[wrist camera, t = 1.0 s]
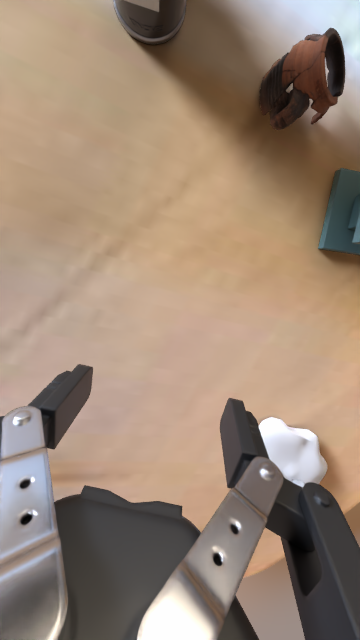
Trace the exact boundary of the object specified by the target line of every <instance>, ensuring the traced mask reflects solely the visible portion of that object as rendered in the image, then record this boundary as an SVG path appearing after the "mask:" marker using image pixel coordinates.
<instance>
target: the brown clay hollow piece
mask: <svg viewBox="0 0 360 640" xmlns="http://www.w3.org/2000/svg"><path fill="white" fill-rule="evenodd" d="M325 58H326V65H327V68H328V70H329V73H328V76H327V81H328V87H327V81H326V74H325ZM291 83H293V90H291V91H290V93H287V92H286V89H287V88H288V87H289V86H290V85H291ZM344 83H345V56H344V50H343V45H342V41H341V38H340V36H339V34H338V32H337V31H336V30H335V29H334V28H329V29H328V30H327V31H326V32H325V33H324V34H323V35H320V34H312V35H308V36H306V37H305V40H304V41H303V40H302V41H300V42H299V43H298V44H296V45H294V46H293V48H292V49H291V51H290V52H289V53H287V54H286V55H284V56H283V57H282V59H279V60H277V61H276V62H275V63H274V64H273V65H272V67H271V69H270V70H269V71H268V72H267V73H266V75H265V76H264V78H263V80H262V84H261V89H260V106H261V111H262V114H263V115H265V114H266V113H267V112H269V111H270V110H271V112H270V124H271V126H272V128H273V129H276V130H281V129H284V128H285V127H287V126H289V125H290V124H292V123H293V122H294V121H295V120H296V119H297V118H299V117H301V116H302V115H303V113H304V112H305V111H306V110H307V109H308V107H309V99H312V100H313V103H312V105H311V108H312V109H314V110H315V111H316V112H318V113H316V114H315V115H314V116H313V117H312V121H311V124H314V123H316V122H317V121H318V120H319V119H321V118H322V116H323V115H324V114H325V113H326V112H327V110H328V109H329V107H330V106H333V105H335V104H337V102H338V101H337V100H338V97H339V96H340V95H342V93H343V89H344Z"/></svg>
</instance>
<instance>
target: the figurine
mask: <svg viewBox="0 0 360 640" xmlns="http://www.w3.org/2000/svg"><path fill="white" fill-rule="evenodd" d="M259 429H260V432H261V436H262V438H263V441H264V444H265V447H266V450H267V453H268V456H269V459H270V460H271V461H272V462H273V463H275V464H276V465H277V467H278V468H279V469H280V471H281V473H282V475H283V477H284V478H286V479H287V480H289V481H291V482H293V483H295V484H297V485H299V486H301V487H303V486H304V485H305V484H306V483H308V482H313V483H317V484H319V483H320V481H321V480H322V478H323V477H324V476H325V474H326V472H327V463H326V461H325V459H324V458H323V457H322V456H321V455H320V449H319V440H318V436H316V435H315V434H313V433H312V432H310V431H309V430H308V429H298V428H292V427H288V426H287V425H286V424H285V423H284V422H283V421H282V420H280V419H276V418H273V417H270V418H268V419H265V420H263V421H262V422H261V424H260V425H259Z"/></svg>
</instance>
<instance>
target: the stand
mask: <svg viewBox="0 0 360 640" xmlns="http://www.w3.org/2000/svg"><path fill="white" fill-rule="evenodd" d="M318 249H323V250H329V251H336V252H342V253H348V254H355V255H360V172H358V171H353V170H348V169H344V168H340V169H339V170H337V171H336V172H335V176H334V180H333V185H332V189H331V194H330V198H329V203H328V207H327V212H326V216H325V220H324V225H323V229H322V234H321V238H320V243H319V247H318Z"/></svg>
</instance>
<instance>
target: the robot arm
mask: <svg viewBox="0 0 360 640" xmlns="http://www.w3.org/2000/svg"><path fill="white" fill-rule="evenodd" d="M113 2H114V7H115V11H116V14H117V16H118V18H119V20H120V22H121V24H122V25H123V27H124V28H125V29H126V31H127V32H128V33H129V34H130V35H131V36H133V37H134V38H135V39H137V40H139V41H141V42H143V43H147V44H161V43H164V42H166V41H168V40H170V39H171V38H172V37H173V36H174V35H175V34H176V33H177V32H178V30H179V29H180V27H181V25H182V23H183V20H184V16H185V10H186V0H113ZM92 375H93V367H90V366H86V365H81V364H79V365H77V366H76V368H75V369H74V370H73V371H72V372H70V371H65V372H63V373H61V374H59V375H58V376H57V377H56V378H55V379H54V380H53V381H52V383H50V384H49V385H48V386H47V388H45V389H44V390H43V391H42V392H41V393H40V394H39V395H38V396H37V397H36V398H35V399H34V400H33V401H32V402H31V403H30V404H29V405H28V406H24V407H19V408H16V409H14V410H12V411H10V412H9V413H8V414H7V415H6V416H2V417H0V640H259V638H258V636H257V635H256V633H255V631H254V629H253V627H252V625H251V623H250V622H249V620H248V618H247V616H246V614H245V612H244V610H243V608H242V607H241V605H240V603H239V601H238V599H237V597H236V592H237V590H238V588H239V585H240V583H241V581H242V578H243V576H244V574H245V572H246V569H247V567H248V565H249V562H250V560H251V558H252V555H253V553H254V551H255V549H256V546H257V544H258V542H259V539H260V537H261V535H262V532H263V530H264V528H265V527H266V528H267V529H269V530H271V531H272V532H274V533H276V534H277V535H279V536H281V540H282V545H283V549H284V553H285V557H286V561H287V565H288V570H289V573H290V578H291V582H292V586H293V590H294V595H295V599H296V603H297V607H298V611H299V615H300V619H301V623H302V628H303V632H304V636H305V640H360V547H359V545H358V544H357V541H356V540H355V537H354V535H353V533H352V531H351V529H350V527H349V525H348V523H347V521H346V519H345V517H344V515H343V513H342V511H341V509H340V507H339V505H338V503H337V501H336V499H335V498H334V497H333V496H332V494H331V493H330V492H329V491H327V490H326V489H325V488H324V487H322V486H321V485H319V484H317V483H313V482H308V483H306V484H305V485H304V486H303V487H301V486H299V485H297V484H295V483H293V482H291V481H289V480H287V479H286V478H284V477H283V475H282V473H281V471H280V469H279V468H278V467H277V465H276V464H275V463H273V462H272V461H271V460H270V459H269V456H268V453H267V450H266V447H265V444H264V441H263V438H262V436H261V432H260V429H259V426H258V423H257V420H256V419H255V417H254V416H253V415H252V413H251V412H249V411H246V410H245V407H244V403H243V401H241V400H237V399H232V398H229V399H228V401H227V404H226V406H225V409H224V412H223V415H222V418H221V422H220V433H221V441H222V449H223V457H224V464H225V472H226V480H227V488H231V490H230V491H229V493H228V494H227V496H226V497H225V499H224V500H223V502H222V503H221V505H220V506H219V507H218V509H217V510H216V512H215V513H214V515H213V516H212V518H211V519H210V521H209V522H208V524H207V525H206V527H205V528H204V530H203V531H202V533H201V532H200V531H199V530H198V529H197V528H196V526H195V525H194V524H192V523H191V522H190V521H189V520H188V519H186V518H185V517H183V516H182V506H179V505H174V504H169V503H165V502H160V501H153V502H141V503H131V502H129V501H127V500H125V499H123V498H121V497H120V496H118V495H116V494H114V493H112V492H111V491H109V490H104V489H100V488H95V487H90V486H86V485H85V486H84V488H83V490H82V492H81V494H77V495H72V496H68V497H65V498H62V499H60V500H58V501H56V502H54V497H53V490H52V482H51V474H50V467H49V459H48V452H47V448H50V449H55V448H56V446H57V445H58V443H59V442H60V440H61V439H62V437H63V436H64V434H65V433H66V431H67V430H68V428H69V427H70V425H71V424H72V422H73V421H74V419H75V418H76V416H77V415H78V413H79V412H80V410H81V409H82V407H83V406H84V404H85V403H86V401H87V400H88V398H89V395H90V392H91V386H92Z"/></svg>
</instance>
